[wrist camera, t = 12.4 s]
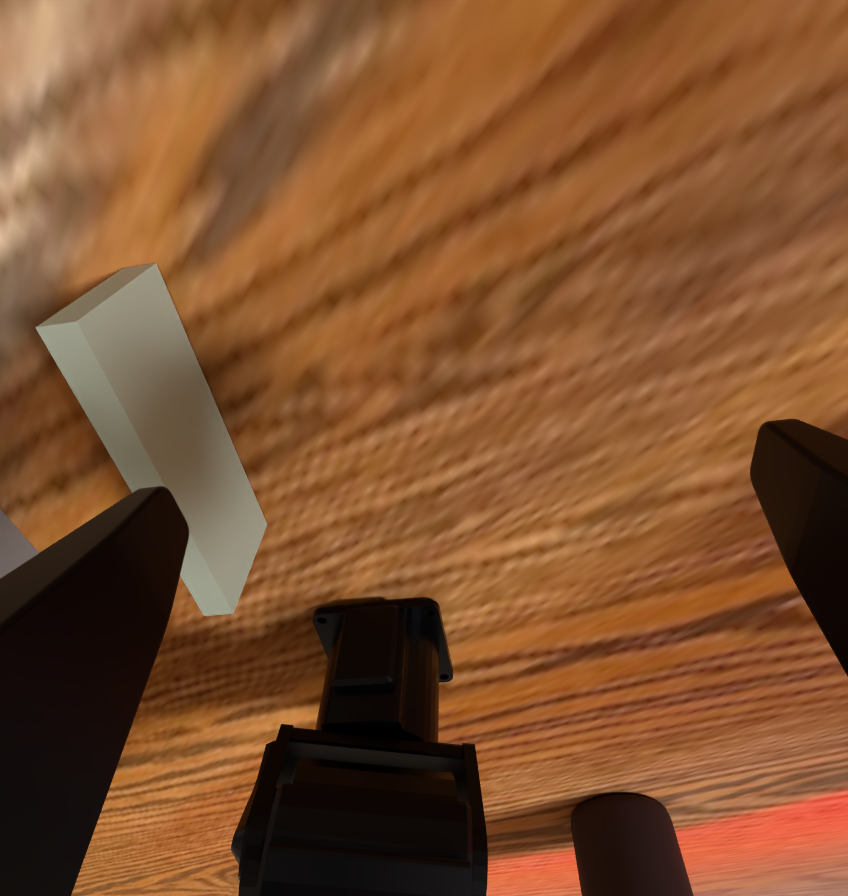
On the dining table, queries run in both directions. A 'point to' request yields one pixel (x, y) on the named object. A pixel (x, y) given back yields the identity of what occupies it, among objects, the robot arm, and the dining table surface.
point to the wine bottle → (627, 848)
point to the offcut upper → (13, 546)
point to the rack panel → (161, 422)
